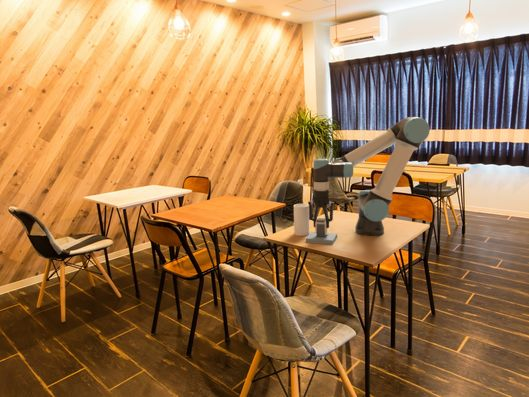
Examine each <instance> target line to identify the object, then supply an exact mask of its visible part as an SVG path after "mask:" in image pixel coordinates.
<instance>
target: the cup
mask: <svg viewBox="0 0 529 397" xmlns="http://www.w3.org/2000/svg"><path fill="white" fill-rule="evenodd" d="M293 228H294V229H293V230H294V235H295V236H301V237H304V236H308V235H309V234H310V209H309V204H308V203H296V204H294V205H293Z"/></svg>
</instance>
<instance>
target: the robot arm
mask: <svg viewBox="0 0 529 397" xmlns="http://www.w3.org/2000/svg"><path fill="white" fill-rule="evenodd" d="M430 128H431V127H430V124H429V123H428V121H427V120H426V119H424V118H422V117H419V116H407V117H404V118H403V119H401V120H399V121H398V122H396V123H395V124H393V125H392V126H390V127H389V128H388V127H387V130H386V131H385V132H384V133H382V134H380V135H378V136H376V137H374V138H373V139H371V140H368V142H365V143H364V144H363V145H360V146H359V147H357V148H356V149H353V150H352V151H350V152H348V153H347V154H344V155H343V156H341V157H340V158H336V159H334V160H333V161H332V162H330V160H329V159H328V158H316V159H315V160H314V161H313V189H314V190H313V199H312V200H309V201H308V202H307V204H308V205H309V221H312V222H313V228H315V232H316V234H317V219H318V216H319V210H320V208H322V209H323V215H324V219H326V222H325V235H326V234H327V233H328V229H329V228H330V222H333V220H334V216H333V215H334V206H335V201H331V200H330V194H329V192H330V191H329V189H330V186H329V185H330V183H329V182H330V181H329V179H332V178H335V179H336V178H338V179H342V178H344V179H348V178H352V177H353V176H354V167H356V166H357V165H359V164H361V163H363V162H364V161H366V160H368V159H370V158H372V157H373V156H375V155H377V154H378V153H381V152H383V151H384V150H386V149H387V148H389V147H391V146H393V145H395V147H394V148H393V151H392V152H391V155H390V156H389V158H388V160H387V163H386V165H385V166H384V169H383V171H382V173H381V175H380V177H379V179H378V181H377V182H376V185H375V187H374V188H372V189H365V190H360V191H359V192H358V219H357V221H356V224H355V233H356V234H360V235H362V236H363V235H364V236H378V235H382V234H384V232H385V226H384V224H383V220H384V219H386V218H387V217H388V215H389V212H390V208H389V207H390V205H391V203H392V201H393V198H392V195H393V192H394V190H395V188H396V186H397V184H398V183H399V180H400V178H401V176H402V175H403V172H404V170H405V169H406V167H407V166H408V163H409V160H410V159H411V157H412V155H413V153H414V151H417V150H419V148H420V147H421V145H422V142H424V141H425V140H427V138H429V134H430ZM328 204H329V212H328ZM314 205H315V211H314Z"/></svg>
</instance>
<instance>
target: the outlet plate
mask: <svg viewBox="0 0 529 397" xmlns="http://www.w3.org/2000/svg"><path fill="white" fill-rule="evenodd" d="M337 239H338V232H337V233H336V232H333V233H332V232H327V234H326V235H325V236H322V235H317V234H316V231H311V232H309V234H308V235H306V237H305V243H309V244H310V243H312V244H324V245H326V244H327V245H334V243H335V242H336V240H337Z"/></svg>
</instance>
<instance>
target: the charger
mask: <svg viewBox="0 0 529 397" xmlns="http://www.w3.org/2000/svg"><path fill="white" fill-rule="evenodd" d="M316 221H317V235H322V236H325V222H326V219H325V217H324V218H320V217H317V220H316Z"/></svg>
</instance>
